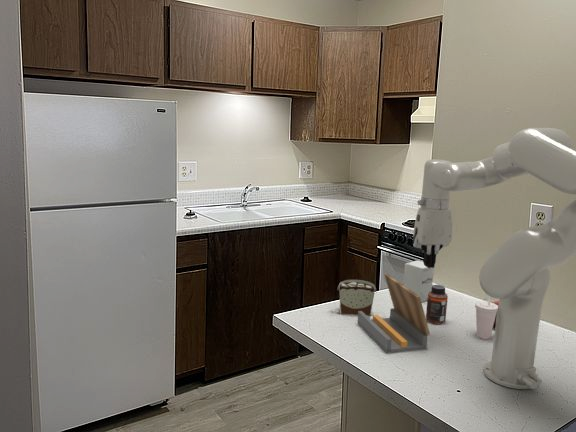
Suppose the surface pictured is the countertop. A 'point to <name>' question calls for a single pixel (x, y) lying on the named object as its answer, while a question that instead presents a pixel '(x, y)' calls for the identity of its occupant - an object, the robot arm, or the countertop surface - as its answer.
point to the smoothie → (485, 318)
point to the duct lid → (407, 303)
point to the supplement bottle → (436, 305)
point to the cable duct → (393, 332)
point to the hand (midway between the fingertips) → (428, 266)
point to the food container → (356, 297)
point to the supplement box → (418, 278)
